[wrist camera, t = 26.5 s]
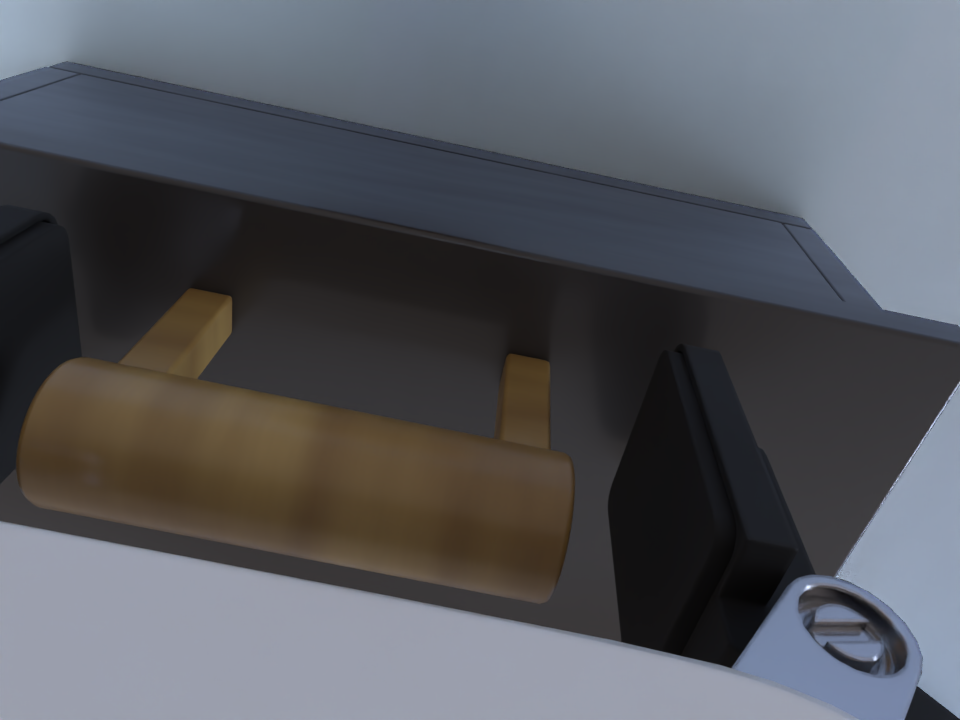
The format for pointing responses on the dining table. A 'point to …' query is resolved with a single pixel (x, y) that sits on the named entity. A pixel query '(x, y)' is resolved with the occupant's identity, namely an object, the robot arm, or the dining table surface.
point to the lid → (416, 388)
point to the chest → (426, 177)
